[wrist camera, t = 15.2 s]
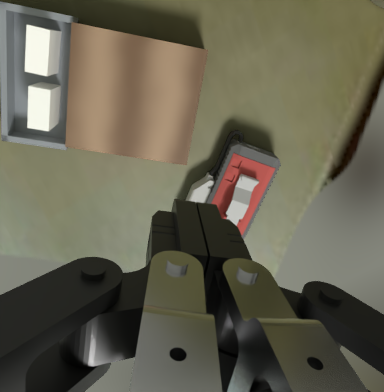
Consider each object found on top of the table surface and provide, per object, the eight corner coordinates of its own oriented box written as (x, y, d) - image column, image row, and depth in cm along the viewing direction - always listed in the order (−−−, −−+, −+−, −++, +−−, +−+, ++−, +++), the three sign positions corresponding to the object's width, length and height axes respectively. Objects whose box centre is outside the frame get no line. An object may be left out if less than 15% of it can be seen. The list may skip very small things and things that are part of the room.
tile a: (50, 30, 31) (26, 24, 31) (47, 76, 33) (24, 71, 32) (61, 31, 35) (40, 26, 35) (58, 73, 36) (38, 68, 36)
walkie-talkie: (215, 120, 41) (158, 259, 48) (222, 128, 37) (159, 279, 44) (281, 145, 43) (218, 275, 50) (294, 156, 39) (223, 296, 46)
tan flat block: (204, 49, 37) (208, 50, 35) (184, 157, 42) (186, 165, 39) (78, 23, 35) (71, 21, 33) (71, 139, 40) (65, 146, 37)
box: (78, 18, 35) (73, 16, 33) (71, 143, 40) (66, 150, 38) (9, 3, 34) (-2, 1, 32) (10, 134, 39) (1, 140, 37)
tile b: (50, 90, 33) (28, 86, 33) (48, 131, 35) (27, 127, 35) (61, 85, 37) (41, 81, 37) (59, 123, 38) (39, 119, 38)
